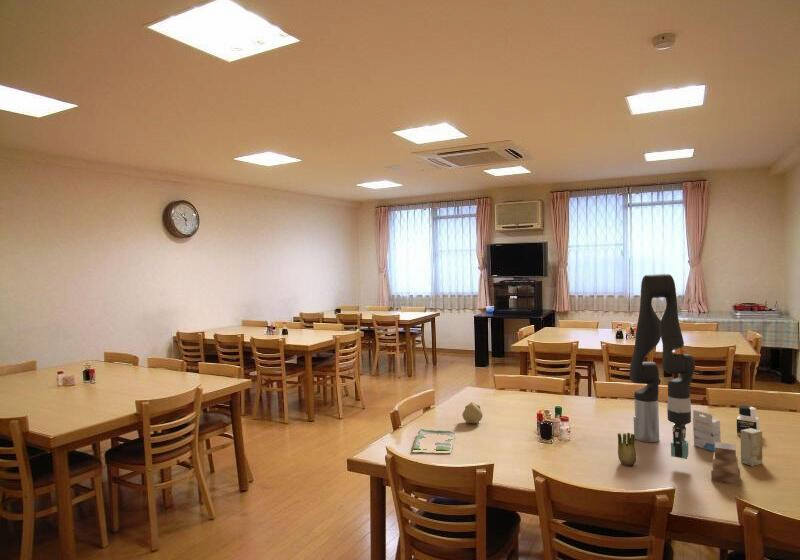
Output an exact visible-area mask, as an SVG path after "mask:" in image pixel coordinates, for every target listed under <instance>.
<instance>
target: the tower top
mask: <svg viewBox="0 0 800 560" xmlns="http://www.w3.org/2000/svg"><path fill="white" fill-rule="evenodd" d="M736 446H737V445H736V444H733V443H726V442H721V443H718V442H715V451H714V452H715V459H718V460H725V461H732V462H736V456H737V453H736V452H737V449H736V448H737V447H736Z"/></svg>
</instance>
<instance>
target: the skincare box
mask: <svg viewBox="0 0 800 560" xmlns="http://www.w3.org/2000/svg"><path fill="white" fill-rule="evenodd" d="M740 463H742V464H746V465H749V466H751V467H754V466H759V465H761V464H763V431H762V430H760V429H759V430H756V429H752V428H749V429H744V430H741V435H740Z"/></svg>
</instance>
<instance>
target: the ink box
mask: <svg viewBox="0 0 800 560" xmlns="http://www.w3.org/2000/svg"><path fill="white" fill-rule="evenodd" d="M692 412H693V413H692V414H693V415H692V416H693V417H692V425H693V427H692V428H693V446H695V447H697V446H698V448H702V449H704V450H708V451H711V452H715V442H718V443H722V438H721V420H719V419H714V418H713V415H712V414H711V413H707V412H703V411H699V410H695V409H693V410H692Z"/></svg>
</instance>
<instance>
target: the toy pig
mask: <svg viewBox="0 0 800 560" xmlns="http://www.w3.org/2000/svg"><path fill="white" fill-rule="evenodd" d="M483 414H484V413H483V411H482V410H481V406H480V405H479V404H476V403H475V402H470V403H468V404H467V405H466V406H465V409H464V410H463V412H462V418H463V420H464V421H465V424H472V423H474V424H480V423H479V421H480V422H481V420H482V418H483V416H484V415H483Z"/></svg>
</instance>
